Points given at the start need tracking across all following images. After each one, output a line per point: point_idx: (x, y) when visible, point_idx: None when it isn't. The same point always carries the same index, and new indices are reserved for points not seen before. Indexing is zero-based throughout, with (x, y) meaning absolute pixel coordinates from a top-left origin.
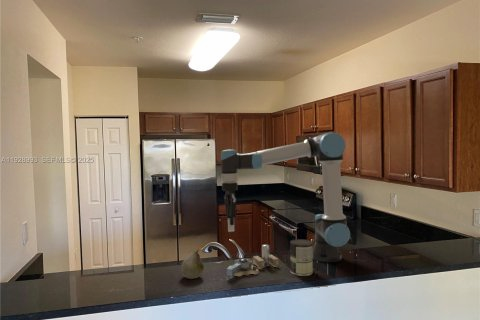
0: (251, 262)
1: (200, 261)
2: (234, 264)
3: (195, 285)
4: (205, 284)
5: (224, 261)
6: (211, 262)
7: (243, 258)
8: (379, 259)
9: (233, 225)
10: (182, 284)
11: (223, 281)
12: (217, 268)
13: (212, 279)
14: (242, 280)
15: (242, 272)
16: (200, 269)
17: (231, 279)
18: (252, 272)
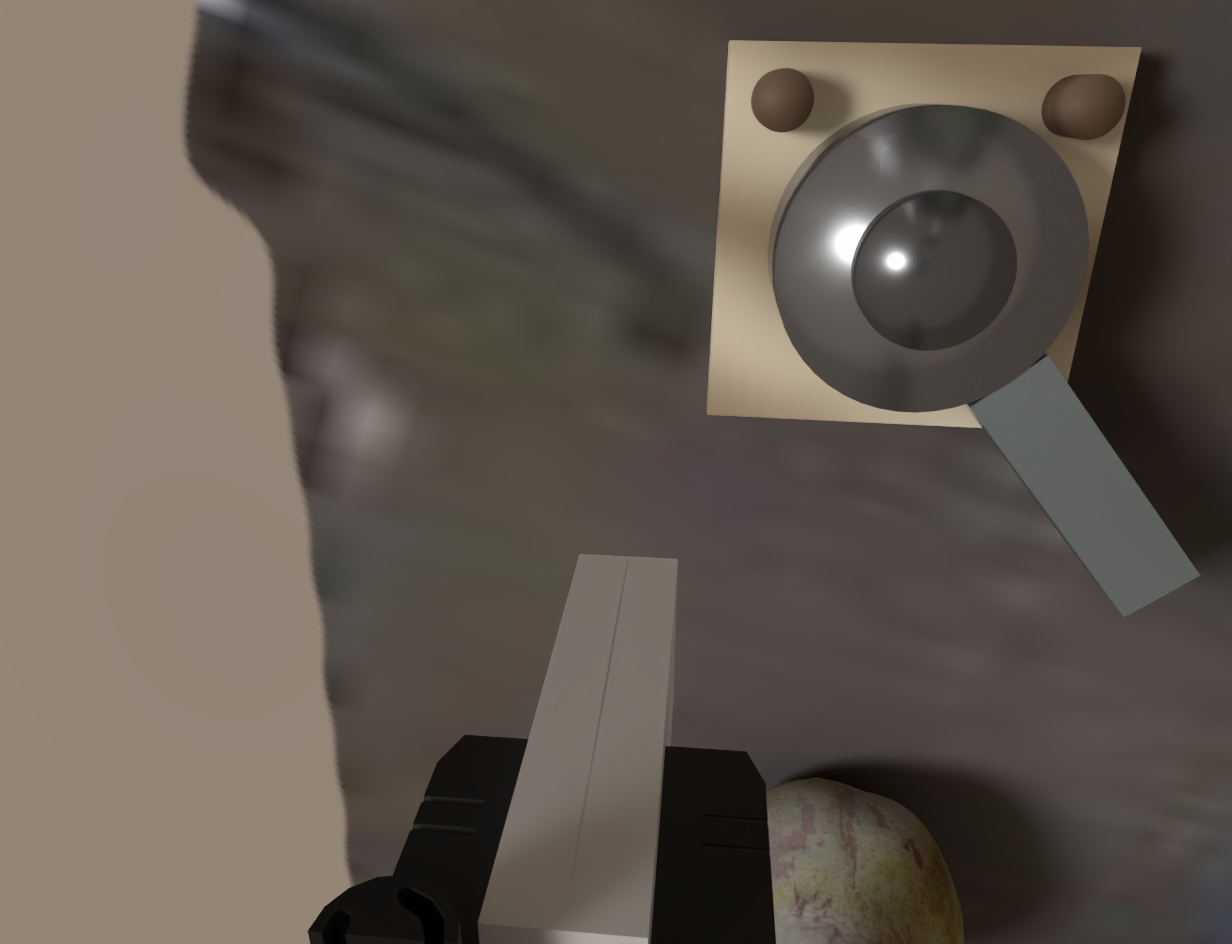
0: (1041, 140)
1: (911, 927)
2: (1007, 457)
3: (1051, 859)
4: (1081, 779)
5: (357, 337)
6: (356, 511)
7: (882, 246)
8: None
9: (667, 703)
10: None
11: (1107, 598)
12: (624, 517)
13: (976, 680)
14: (1217, 383)
15: (1074, 330)
16: (947, 871)
17: None
18: (1110, 164)
